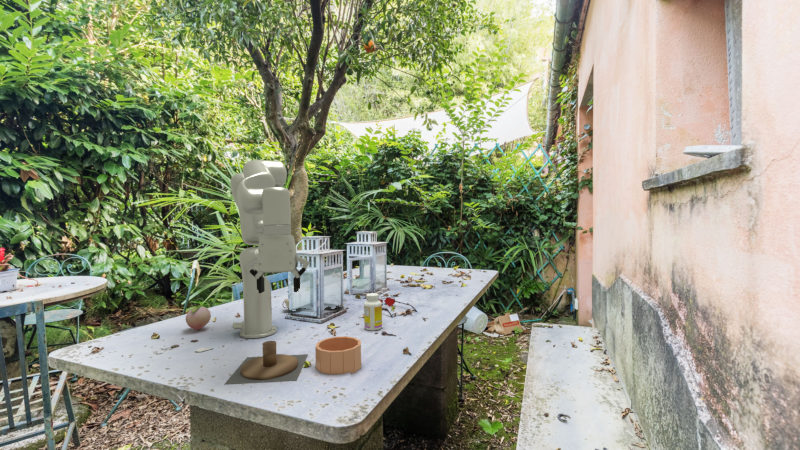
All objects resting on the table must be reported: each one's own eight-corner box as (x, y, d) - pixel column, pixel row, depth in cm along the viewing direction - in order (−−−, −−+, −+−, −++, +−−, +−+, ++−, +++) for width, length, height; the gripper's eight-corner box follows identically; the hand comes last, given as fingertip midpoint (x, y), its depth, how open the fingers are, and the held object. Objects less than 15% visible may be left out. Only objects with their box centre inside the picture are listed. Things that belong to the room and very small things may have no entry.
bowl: (313, 377, 98) (312, 352, 98) (319, 359, 110) (319, 337, 110) (360, 374, 99) (360, 350, 99) (361, 357, 111) (361, 335, 111)
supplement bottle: (383, 325, 142) (382, 292, 142) (380, 331, 136) (380, 296, 135) (366, 325, 143) (365, 292, 143) (362, 331, 136) (362, 296, 136)
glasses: (394, 305, 175) (393, 295, 175) (417, 312, 162) (417, 301, 162) (369, 311, 166) (369, 300, 166) (392, 318, 153) (392, 306, 153)
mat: (223, 386, 93) (223, 384, 93) (247, 359, 111) (247, 357, 111) (296, 382, 95) (296, 380, 95) (308, 356, 113) (308, 354, 113)
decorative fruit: (209, 332, 138) (208, 305, 138) (184, 335, 135) (183, 308, 135) (212, 325, 147) (211, 300, 147) (188, 328, 144) (187, 302, 144)
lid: (232, 381, 95) (231, 354, 95) (250, 358, 110) (250, 335, 110) (292, 378, 96) (291, 351, 96) (302, 356, 111) (301, 333, 111)
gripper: (240, 232, 100) (242, 295, 101) (305, 231, 101) (307, 293, 102) (250, 231, 108) (252, 290, 108) (310, 230, 109) (312, 288, 109)
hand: (279, 291), depth 105 cm, fingers open, 9 cm apart
